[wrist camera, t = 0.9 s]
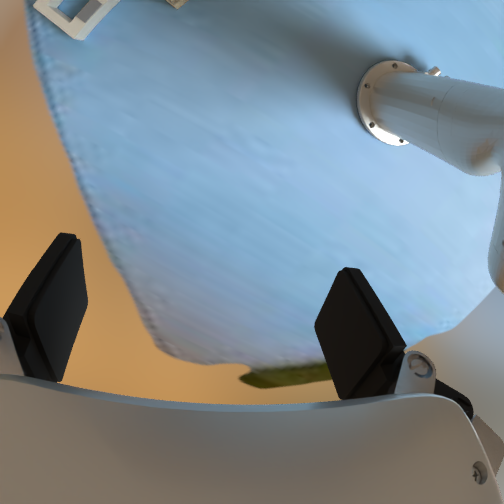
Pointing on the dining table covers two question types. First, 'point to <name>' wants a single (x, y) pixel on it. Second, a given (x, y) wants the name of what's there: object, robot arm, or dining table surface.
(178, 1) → the plug
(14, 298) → the robot arm
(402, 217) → the dining table surface
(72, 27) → the socket block
